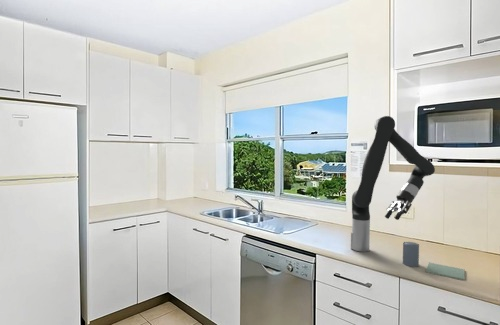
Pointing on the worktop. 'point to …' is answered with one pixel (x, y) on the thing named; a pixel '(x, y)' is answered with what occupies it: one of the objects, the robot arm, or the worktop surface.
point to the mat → (446, 271)
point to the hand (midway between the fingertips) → (391, 218)
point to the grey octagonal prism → (411, 254)
